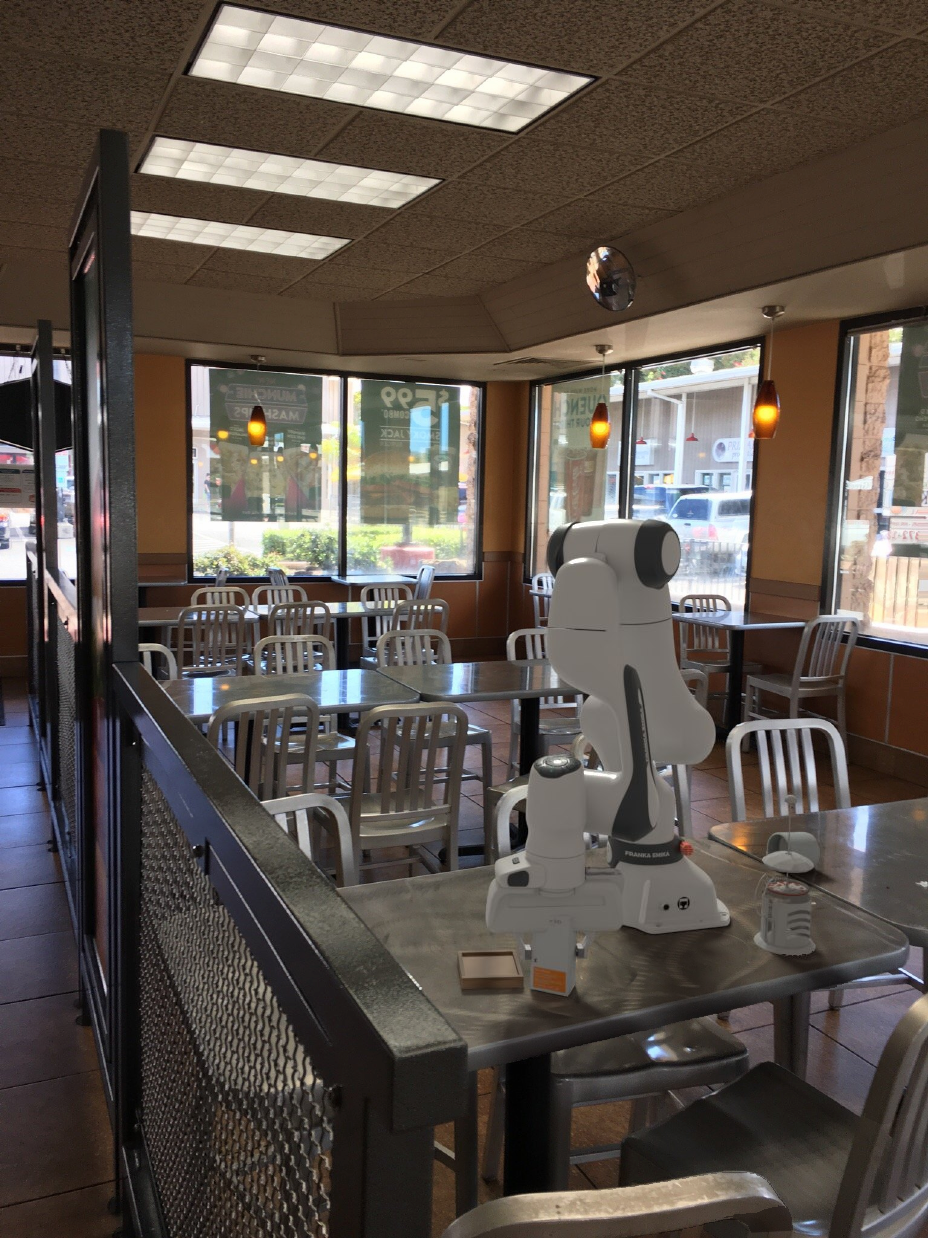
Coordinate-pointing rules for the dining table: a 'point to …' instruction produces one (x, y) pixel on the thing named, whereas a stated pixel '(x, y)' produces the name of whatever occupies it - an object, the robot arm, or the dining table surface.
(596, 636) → the robot arm
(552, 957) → the skincare box
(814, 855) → the ceramic mug
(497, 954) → the walnut tray
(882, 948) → the dining table surface
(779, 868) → the french press
